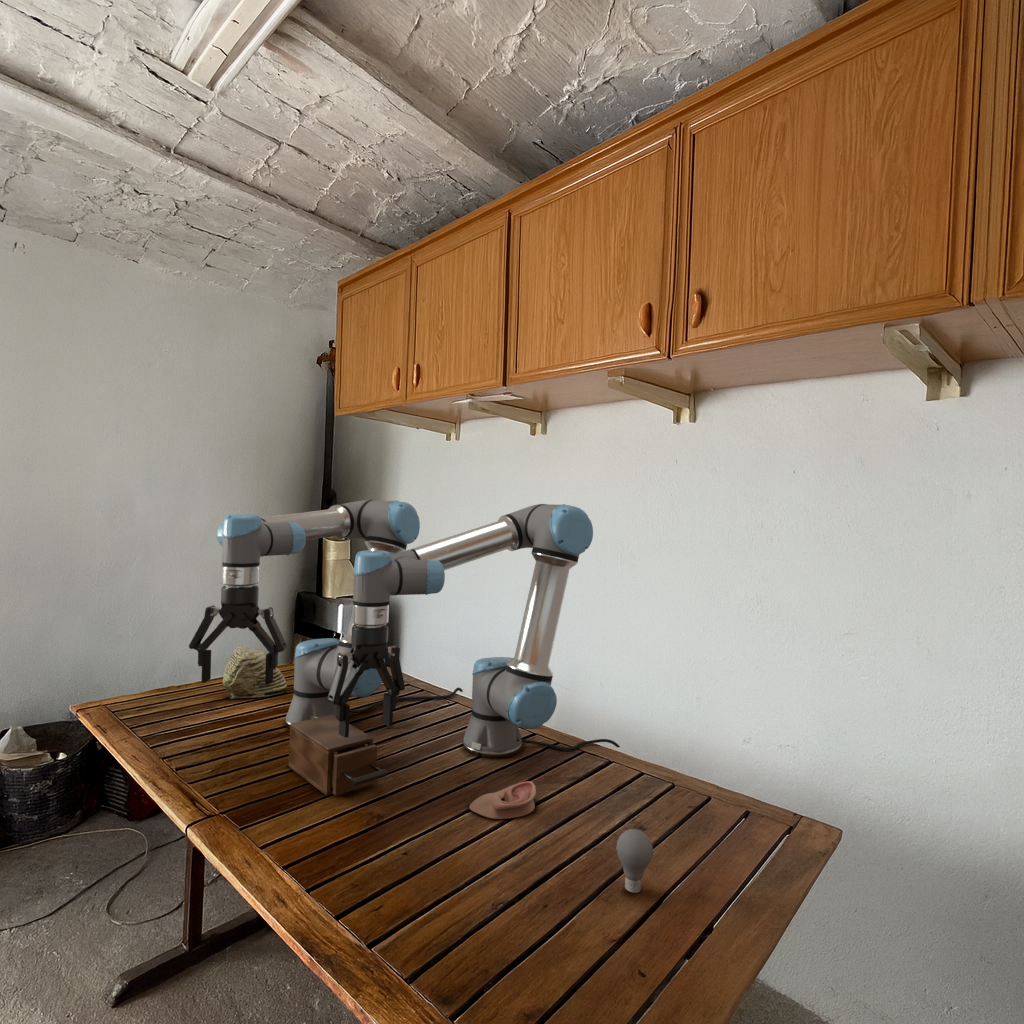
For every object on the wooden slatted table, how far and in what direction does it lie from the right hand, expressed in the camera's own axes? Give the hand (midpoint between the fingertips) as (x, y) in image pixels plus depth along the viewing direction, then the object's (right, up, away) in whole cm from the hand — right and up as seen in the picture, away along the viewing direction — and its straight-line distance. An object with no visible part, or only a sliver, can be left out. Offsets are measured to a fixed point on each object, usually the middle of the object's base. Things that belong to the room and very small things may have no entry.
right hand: (366, 729), depth 133 cm
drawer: (-7, -13, +7) cm, 16 cm away
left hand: (-29, +9, +5) cm, 31 cm away
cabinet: (-11, -14, +11) cm, 21 cm away
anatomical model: (+29, -16, -1) cm, 33 cm away
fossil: (-50, -11, +65) cm, 82 cm away
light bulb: (+51, -17, -28) cm, 61 cm away
